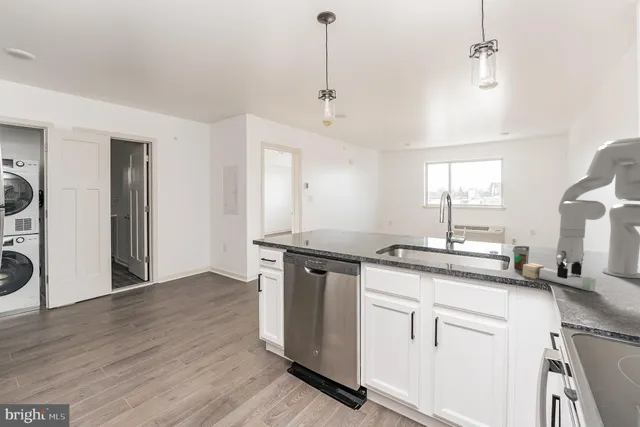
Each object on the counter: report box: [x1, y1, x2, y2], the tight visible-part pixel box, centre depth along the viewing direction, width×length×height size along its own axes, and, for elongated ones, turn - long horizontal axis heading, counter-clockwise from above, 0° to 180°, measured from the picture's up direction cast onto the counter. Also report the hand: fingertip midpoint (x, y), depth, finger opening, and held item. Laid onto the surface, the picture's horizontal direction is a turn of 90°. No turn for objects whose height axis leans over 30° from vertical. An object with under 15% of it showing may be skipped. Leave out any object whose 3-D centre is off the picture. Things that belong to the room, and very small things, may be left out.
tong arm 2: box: [543, 267, 597, 292], centre depth 121 cm, size 18×2×4 cm, turn 24°
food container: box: [512, 245, 530, 272], centre depth 146 cm, size 12×6×10 cm, turn 141°
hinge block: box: [521, 263, 545, 280], centre depth 132 cm, size 6×5×5 cm
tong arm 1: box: [538, 268, 594, 292], centre depth 120 cm, size 18×2×4 cm, turn 25°
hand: (569, 276), depth 120 cm, fingers open, 9 cm apart
